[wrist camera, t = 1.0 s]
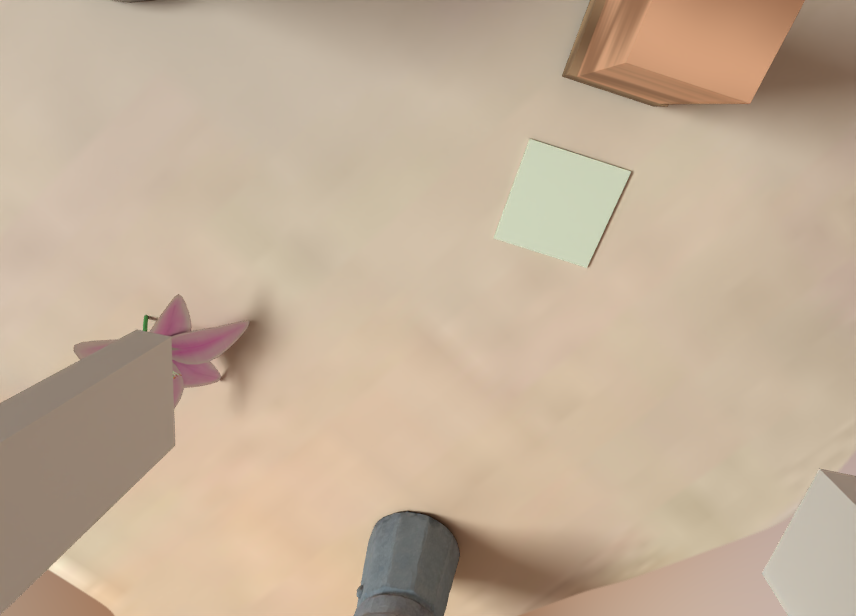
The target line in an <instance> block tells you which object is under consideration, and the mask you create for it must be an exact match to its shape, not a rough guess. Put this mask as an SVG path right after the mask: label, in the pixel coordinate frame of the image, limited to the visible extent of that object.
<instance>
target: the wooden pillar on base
mask: <svg viewBox="0 0 856 616" xmlns="http://www.w3.org/2000/svg"><path fill="white" fill-rule="evenodd" d="M804 1H805V0H590V2H589V5H588V7H587V10H586V13H585V15H584V18H583V21H582V24H581V26H580V29H579V32H578V34H577V37H576V40H575V42H574V45H573V48H572V50H571V53H570V56H569V59H568V61H567V64H566V67H565V69H564V72H563V75H562V76H563V77H566V78H569V79H572V80H575V81H578V82H581V83H584V84H587V85H590V86H593V87H596V88H599V89H602V90H605V91H608V92H611V93H614V94H617V95H621V96H624V97H627V98H630V99H633V100H636V101H639V102H642V103H645V104H648V105H651V106H664V107H668V105H669V104H750V103H751V101H752V99H753V97H754V95H755V93H756V92H757V90H758V88H759V86H760V84H761V82H762V80H763V78H764V77H765V75H766V73H767V71H768V69H769V67H770V65H771V63H772V62H773V60H774V58H775V56H776V54H777V52H778V50H779V48H780V46H781V45H782V43H783V41H784V39H785V37H786V35H787V33H788V31H789V30H790V28H791V26H792V24H793V22H794V20H795V18H796V16H797V15H798V13H799V11H800V9H801V7H802V5H803V3H804Z"/></svg>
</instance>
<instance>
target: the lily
mask: <svg viewBox="0 0 856 616" xmlns="http://www.w3.org/2000/svg"><path fill="white" fill-rule="evenodd" d="M147 323H148V316H147V315H145V316H144V323H143V331H146V332H147ZM248 326H249V321H241V322H236V323H232V324H228V325H223V326H219V327H214V328H208V329H202V330H196V331H191V319H190V315H189V311H188V309H187V306H186V303H185V301H184V299H183V297H182V296H181V295H179V294H178V295H177V296H175V297H174V298H173V299H172V301H171V302H170V303H169V305H168V306H167V307H166V309H165V310H164V311H163V313H162V314H161V316H160V317H159V319H158V320H157V321H156V323H155V324H154V326H153V327H152V329H151V330H150V332H151V333H156V334H161V335H166V336H171V338H172V366H173V394H174V409H175V407H176V405H177V404H178V402H179V400H180V399H181V396H182V393H183V390H184V388H187V387H197V386H204V385H208V384H212V383H215V382H218V381H219V380H220V378H221V375H220V373H219V372H218V370H217V369H216V368H215V366H214V365H213V364H212V363H211V362H210V361H211V360H213V359H215V358H217V357H219V356H220V355H221V354H222V353H224V352H225V351H226V350H227V349H228V348H230V347H231V346H232V345H233V344H234V343H235V342H236V341H237V340H238V339H239V338H240V336H241V335H242V334H243V333H244V332H245V331H246V329H247V328H248ZM115 341H117V340H101V341H89V342H81V343H79V344H76V345H74V352H75V354H76V355H77V356H78V358H79V359H80V360H81V359H83V358H85V357H87V356H89V355H91V354H93V353H94V352H96V351H98V350H100V349H102V348H104V347H106V346H107V345H109V344H111V343H113V342H115Z"/></svg>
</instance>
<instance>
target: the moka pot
mask: <svg viewBox="0 0 856 616" xmlns="http://www.w3.org/2000/svg"><path fill="white" fill-rule="evenodd" d="M459 556H460V553H459V548H458V545H457V542H456V539H455V538H454V536H453V534H452V533H451V532H450V531H449V529H448V528H446V527H445V526H444V525H443V524H441V523H440V522H438V521H437V520H435V519H433V518H431V517H429V516H427V515H423V514H419V513H411V512H400V513H394V514H391V515H388V516H386V517H383V518H382V519H381V520H379V521H378V522H377V523H376V525H375V527H374V529H373V531H372V534H371V536H370V539H369V543H368V547H367V553H366V559H365V564H364V569H363V575H362V581H361V586H360V587H359V588H358V589H357V597H358V604H357V609H356V611H355V614H354V616H444V612H445V610H446V606H447V602H448V596H449V593H450V590H451V586H452V582H453V579H454V575H455V572H456V568H457V564H458V561H459Z"/></svg>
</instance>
